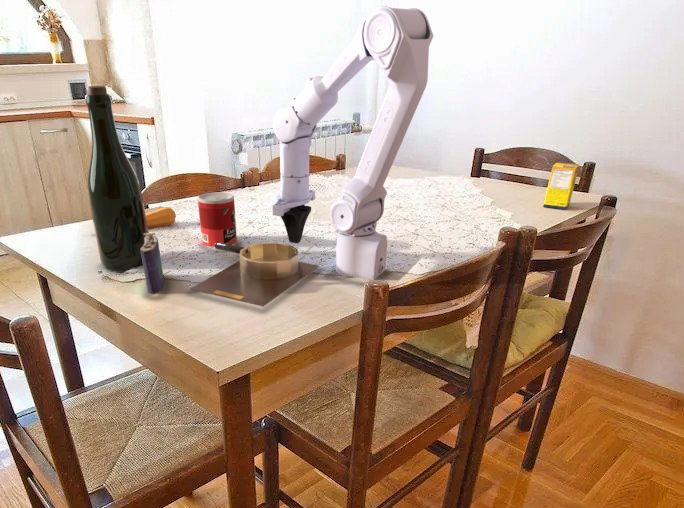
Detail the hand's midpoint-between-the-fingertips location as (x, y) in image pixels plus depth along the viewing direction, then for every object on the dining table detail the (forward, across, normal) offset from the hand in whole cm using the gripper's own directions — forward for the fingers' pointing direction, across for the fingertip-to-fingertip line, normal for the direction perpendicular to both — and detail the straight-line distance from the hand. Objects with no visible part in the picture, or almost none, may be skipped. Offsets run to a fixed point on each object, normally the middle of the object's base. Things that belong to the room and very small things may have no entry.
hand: (294, 241), depth 112 cm
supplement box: (+4, -70, +45) cm, 83 cm away
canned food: (+4, +1, -19) cm, 19 cm away
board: (+3, +15, 0) cm, 16 cm away
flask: (+4, +27, -15) cm, 31 cm away
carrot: (+4, 0, -45) cm, 45 cm away
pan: (+2, +11, -4) cm, 12 cm away
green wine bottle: (+4, +20, -29) cm, 36 cm away
